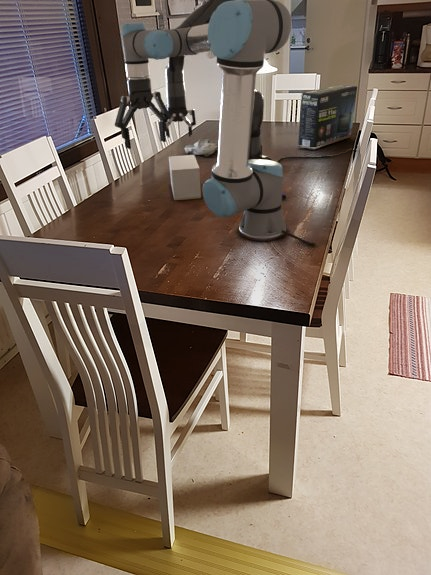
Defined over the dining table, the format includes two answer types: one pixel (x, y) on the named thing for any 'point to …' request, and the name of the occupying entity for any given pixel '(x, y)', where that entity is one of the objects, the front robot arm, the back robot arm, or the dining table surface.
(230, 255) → the dining table surface
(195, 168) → the white box
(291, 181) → the dining table surface
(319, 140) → the router box
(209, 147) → the fossil
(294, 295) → the dining table surface
